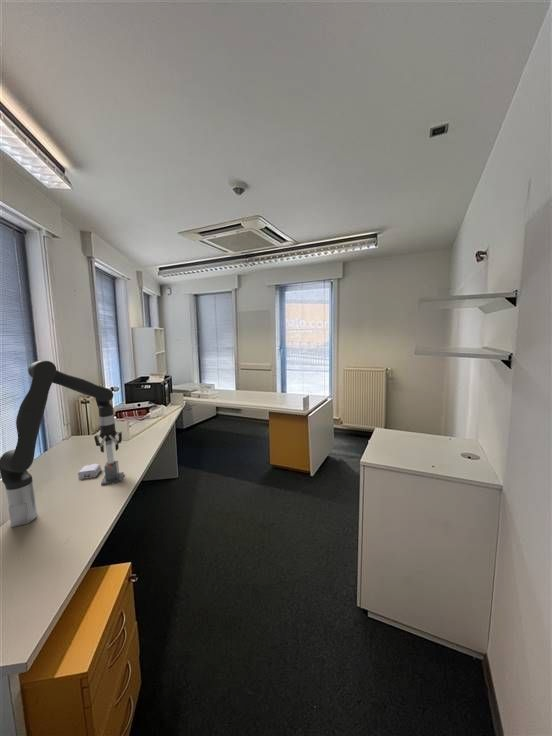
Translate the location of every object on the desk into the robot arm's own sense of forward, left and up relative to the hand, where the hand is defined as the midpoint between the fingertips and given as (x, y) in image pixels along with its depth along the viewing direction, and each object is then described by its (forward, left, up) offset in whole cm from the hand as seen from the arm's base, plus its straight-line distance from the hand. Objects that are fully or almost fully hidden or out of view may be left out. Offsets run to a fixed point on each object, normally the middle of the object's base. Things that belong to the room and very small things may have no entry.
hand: (110, 451), depth 166 cm
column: (0, 0, -11) cm, 11 cm away
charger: (+16, +14, -18) cm, 28 cm away
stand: (0, 0, -18) cm, 18 cm away
